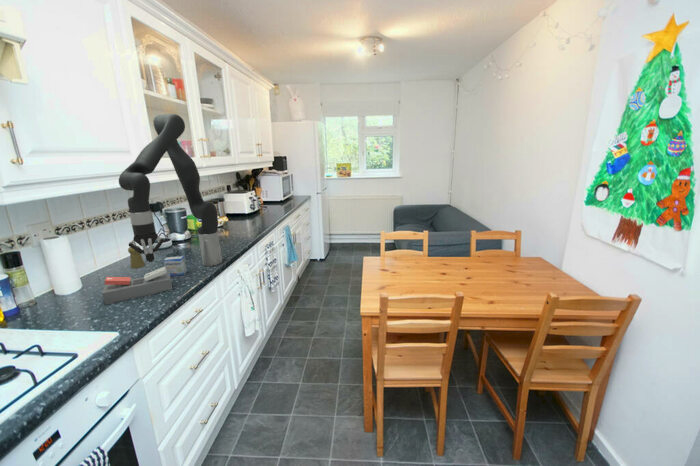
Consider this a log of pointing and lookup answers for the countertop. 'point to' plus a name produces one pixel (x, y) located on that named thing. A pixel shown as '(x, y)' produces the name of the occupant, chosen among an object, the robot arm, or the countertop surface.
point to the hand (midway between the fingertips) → (150, 261)
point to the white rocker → (155, 273)
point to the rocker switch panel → (136, 288)
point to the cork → (135, 258)
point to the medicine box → (175, 265)
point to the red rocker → (117, 280)
